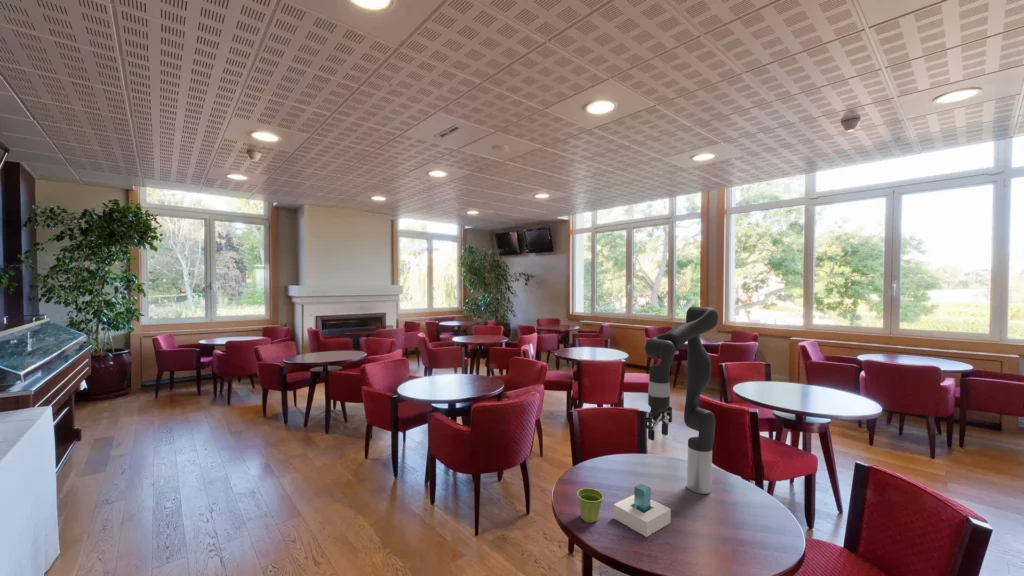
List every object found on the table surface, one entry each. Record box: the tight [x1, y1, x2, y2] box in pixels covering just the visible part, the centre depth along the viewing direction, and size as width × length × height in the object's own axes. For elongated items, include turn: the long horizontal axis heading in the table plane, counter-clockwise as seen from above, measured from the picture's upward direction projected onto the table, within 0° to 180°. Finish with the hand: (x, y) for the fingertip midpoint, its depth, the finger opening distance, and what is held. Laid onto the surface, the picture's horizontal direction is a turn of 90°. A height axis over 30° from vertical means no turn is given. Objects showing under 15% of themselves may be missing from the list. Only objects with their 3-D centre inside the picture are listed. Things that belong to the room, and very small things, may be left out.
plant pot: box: [576, 487, 604, 524], centre depth 153 cm, size 9×9×9 cm
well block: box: [612, 494, 672, 538], centre depth 152 cm, size 14×14×5 cm
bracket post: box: [633, 483, 652, 513], centre depth 152 cm, size 4×4×12 cm
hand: (658, 437), depth 157 cm, fingers open, 8 cm apart
